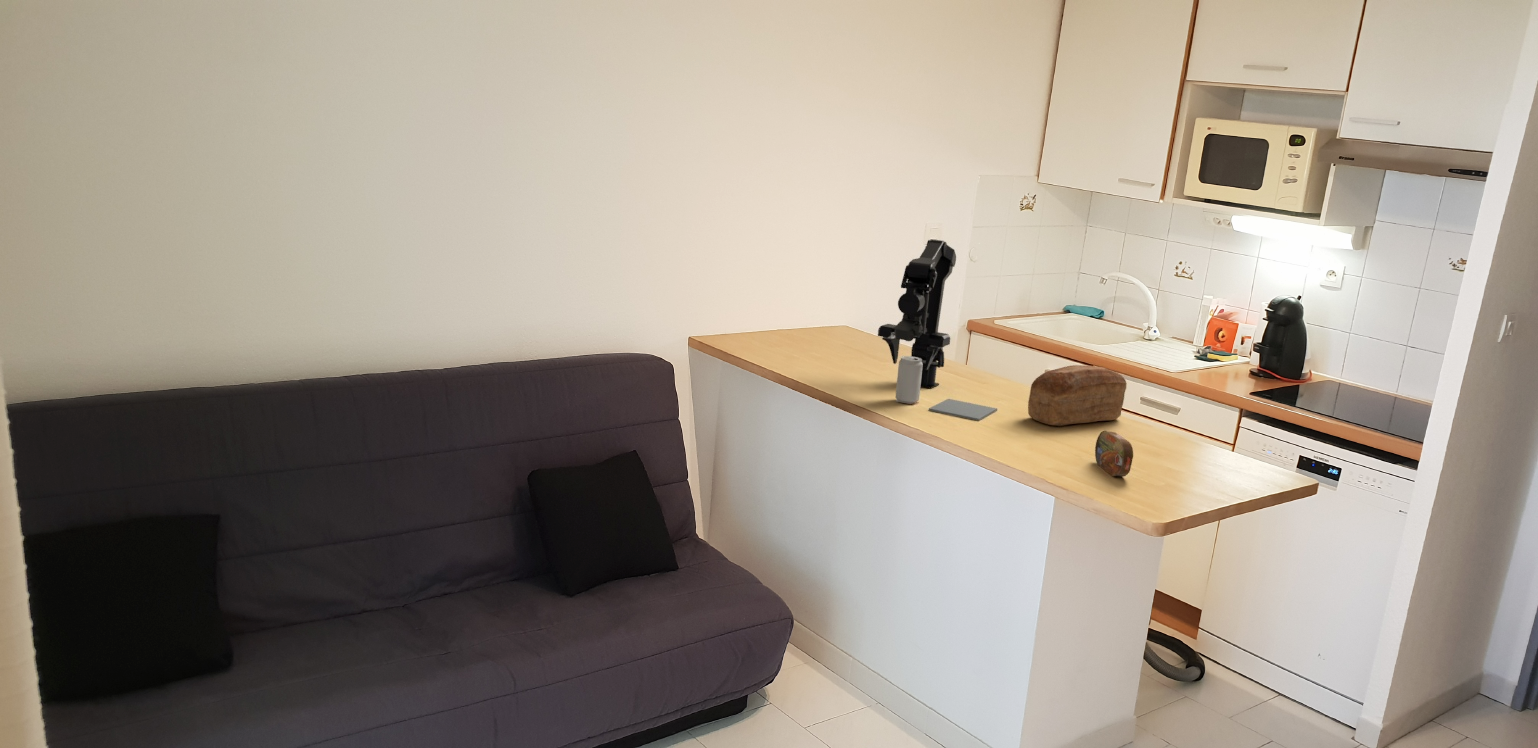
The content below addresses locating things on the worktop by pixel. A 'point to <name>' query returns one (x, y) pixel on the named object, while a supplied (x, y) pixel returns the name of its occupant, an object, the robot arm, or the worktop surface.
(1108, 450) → the tin
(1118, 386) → the bread
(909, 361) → the beverage can
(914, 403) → the two-tone square tiles
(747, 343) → the worktop surface
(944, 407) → the slate mat
